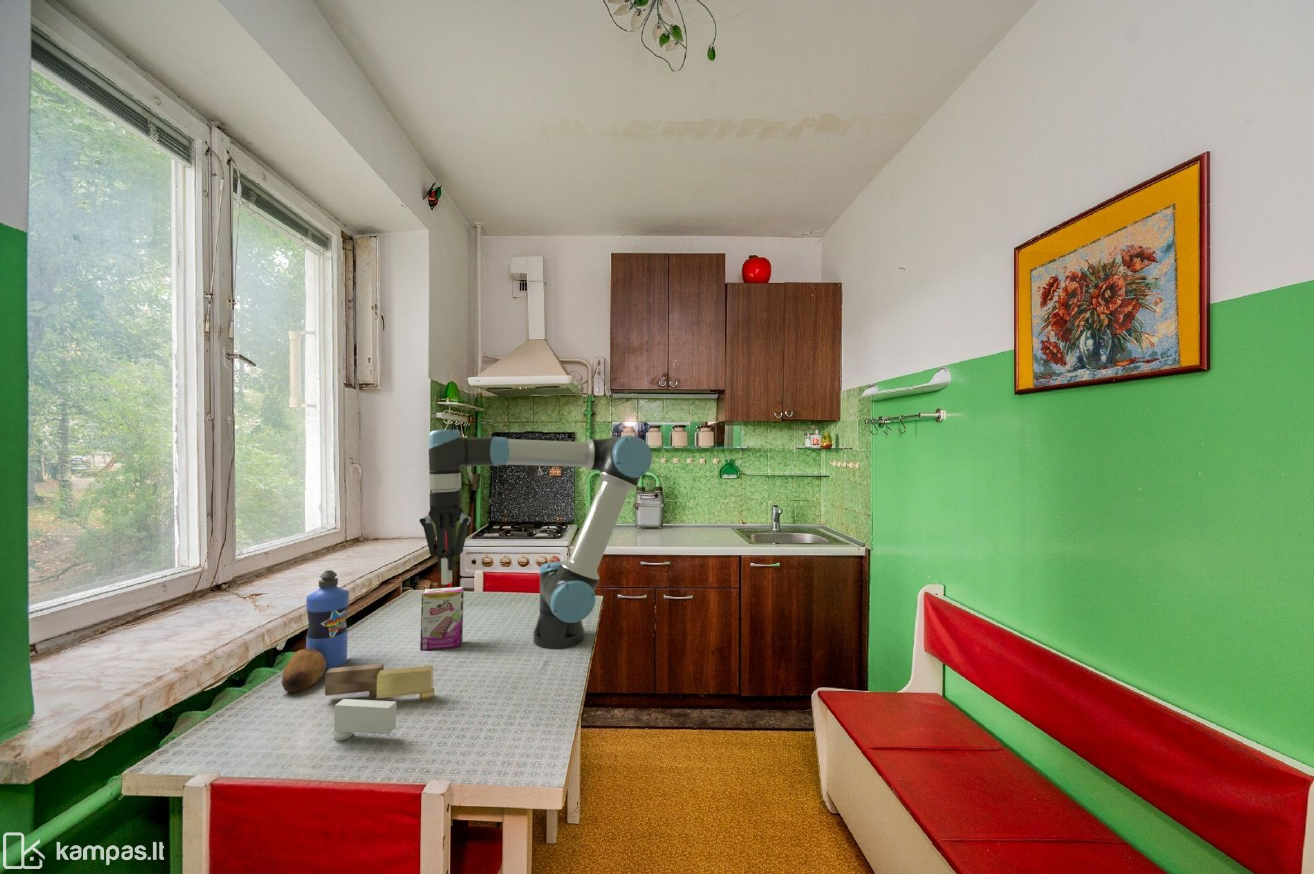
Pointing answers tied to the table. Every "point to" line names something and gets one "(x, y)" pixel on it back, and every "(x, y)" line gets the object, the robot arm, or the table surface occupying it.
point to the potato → (303, 670)
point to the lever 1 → (352, 680)
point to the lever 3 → (406, 682)
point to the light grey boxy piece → (363, 717)
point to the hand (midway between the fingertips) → (446, 582)
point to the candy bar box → (442, 618)
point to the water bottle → (328, 620)
